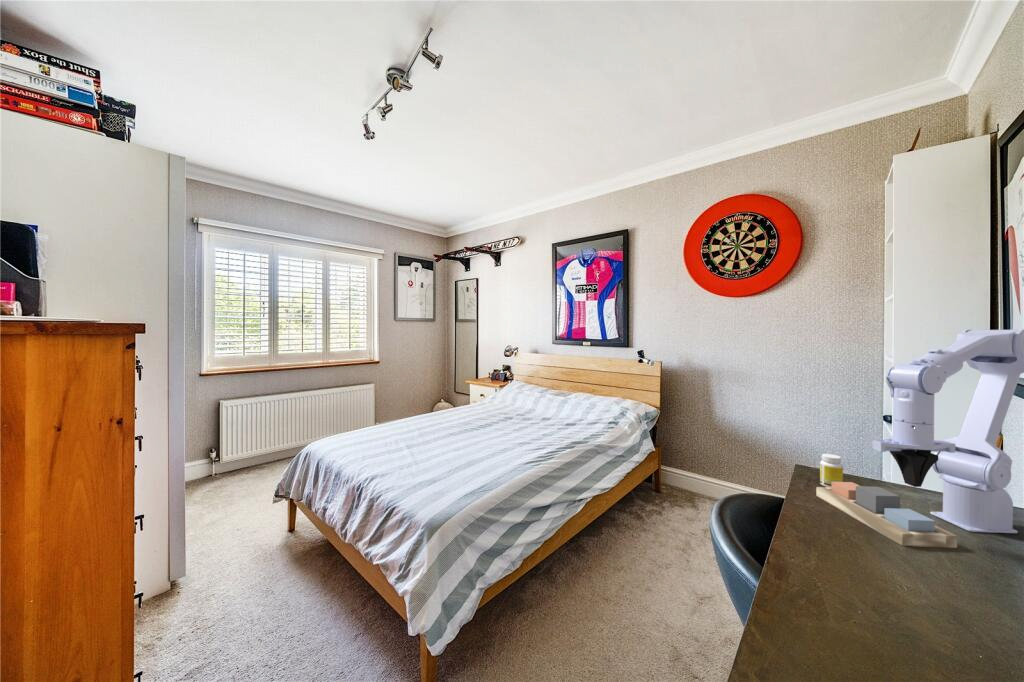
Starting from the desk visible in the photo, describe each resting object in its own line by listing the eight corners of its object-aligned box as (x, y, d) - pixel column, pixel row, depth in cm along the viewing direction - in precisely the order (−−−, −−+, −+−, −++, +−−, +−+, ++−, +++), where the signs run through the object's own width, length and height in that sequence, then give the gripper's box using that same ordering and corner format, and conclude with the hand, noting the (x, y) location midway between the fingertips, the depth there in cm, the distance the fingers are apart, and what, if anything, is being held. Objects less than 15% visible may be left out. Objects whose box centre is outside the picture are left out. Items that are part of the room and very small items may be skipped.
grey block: (878, 503, 84) (878, 486, 84) (899, 514, 79) (900, 496, 79) (855, 502, 84) (855, 486, 84) (875, 513, 79) (875, 495, 79)
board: (857, 497, 92) (857, 488, 92) (957, 547, 70) (957, 535, 70) (816, 496, 93) (816, 487, 93) (902, 545, 71) (902, 533, 71)
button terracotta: (852, 497, 91) (852, 482, 91) (870, 507, 86) (870, 490, 86) (831, 497, 91) (831, 481, 91) (848, 506, 86) (848, 490, 86)
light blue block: (909, 527, 77) (909, 508, 77) (934, 540, 72) (935, 520, 72) (884, 526, 77) (884, 508, 77) (908, 539, 72) (908, 520, 72)
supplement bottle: (847, 489, 97) (848, 458, 97) (829, 489, 97) (830, 458, 97) (832, 482, 102) (832, 453, 102) (815, 482, 102) (815, 453, 102)
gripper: (929, 417, 79) (928, 477, 79) (859, 416, 80) (859, 476, 80) (967, 425, 72) (967, 491, 72) (891, 424, 73) (890, 490, 73)
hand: (912, 484), depth 76 cm, fingers closed
